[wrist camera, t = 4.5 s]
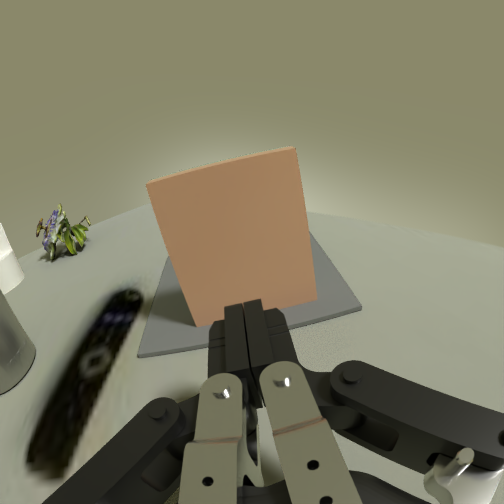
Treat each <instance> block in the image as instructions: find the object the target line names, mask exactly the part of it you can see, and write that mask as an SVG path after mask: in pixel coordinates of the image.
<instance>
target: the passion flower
mask: <svg viewBox="0 0 504 504" xmlns="http://www.w3.org/2000/svg"><path fill="white" fill-rule="evenodd" d="M61 211H62V206H61V204H59V205H58V209H57V211H55V210H54V212H53V214H52V216H51V219H49V220H48V222H47V224H46V227H44V226H42V220H43V219H42V218H41V220H40V221H39V224H38V225H37V232H36V237H38V236H39V232H40V230H41V229H45V231H44V239H43V242H42V244H43V245H44V249H45V250H46V251H47V252H50V255H51V260H53V259H54V258H55V251H56V242H57V241H58V239H60V241H61V242H65V244H66V246H67V248H68V250H69V251H70V253H71V254H76V255H77V251H76V246H75V241H74V239H73V237H72V235H73V236H75V237H76V239H77V241H78V242H79V244H80V246H81V247H82V246H83V244H84V241H85V240H86V234H85V232H84V231H88V228H86V227H85V226H83V225H81V224H80V223H79V224H77V225H74V226H73V227H70V224H69V222H68V219H67V218H66V219H65V216H66V215H65V212H63V213H62V214H61ZM85 219H86V220H87V222H88V224H89V226H90V225H91V223H90V221H89V219H88V217H87V216H85V217H84V219H83V220H82V221H81V222H83V221H84V220H85ZM65 227H67V229H66V231H65V232H63V228H65ZM63 233H64V234H63ZM71 234H72V235H71ZM64 240H65V241H64Z"/></svg>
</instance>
